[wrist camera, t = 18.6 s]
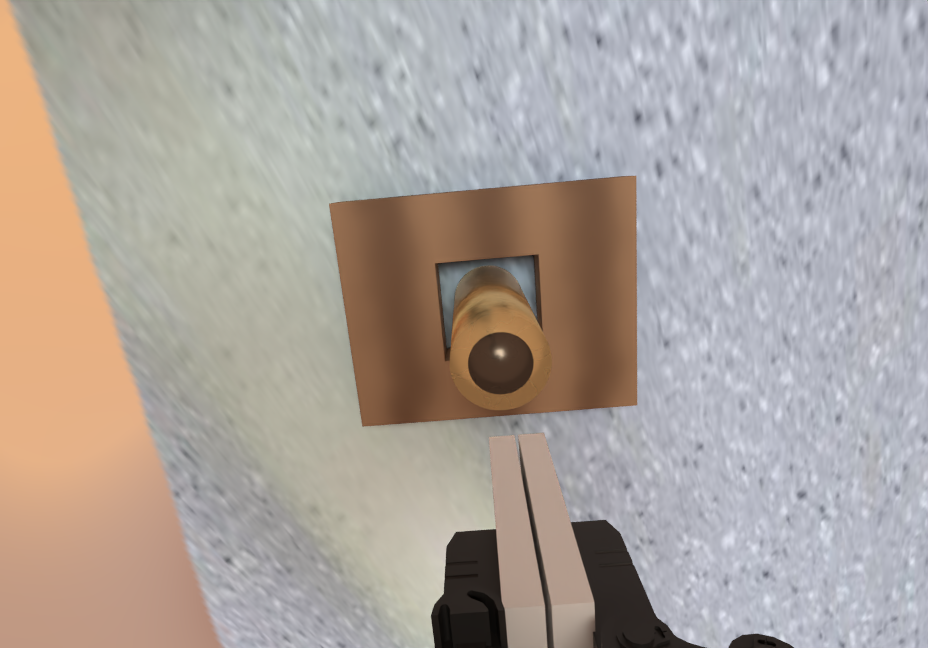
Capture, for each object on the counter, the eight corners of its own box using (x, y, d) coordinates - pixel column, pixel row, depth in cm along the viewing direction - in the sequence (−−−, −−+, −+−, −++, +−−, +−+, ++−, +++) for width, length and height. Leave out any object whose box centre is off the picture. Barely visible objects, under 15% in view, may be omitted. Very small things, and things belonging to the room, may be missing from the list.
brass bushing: (458, 334, 40) (454, 415, 27) (451, 268, 39) (444, 319, 25) (524, 327, 40) (554, 406, 27) (519, 262, 39) (549, 309, 25)
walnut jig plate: (370, 409, 42) (362, 426, 39) (339, 201, 38) (329, 203, 35) (625, 389, 41) (637, 405, 38) (623, 176, 37) (636, 175, 34)
